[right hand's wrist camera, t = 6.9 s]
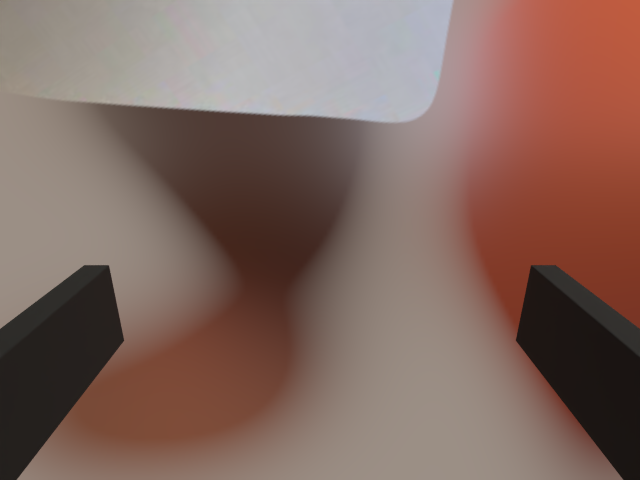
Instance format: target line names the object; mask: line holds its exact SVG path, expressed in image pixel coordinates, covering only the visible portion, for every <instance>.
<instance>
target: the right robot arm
mask: <svg viewBox="0 0 640 480" xmlns="http://www.w3.org/2000/svg"><path fill="white" fill-rule="evenodd" d="M123 341H124V338H123V333H122V328H121V323H120V318H119V313H118V308H117V303H116V298H115V293H114V288H113V283H112V278H111V273H110V269H109V266H108V265H84V266H83V267H81V268H80V269H79V270H78V271H76V272H75V273H74V274H72V275H71V276H70V277H68V278H67V279H66V280H64V281H63V282H62V283H60V284H59V285H58V286H56V287H55V288H54V289H52V290H51V291H50V292H48V293H47V294H46V295H45V296H43V297H42V298H40V299H39V300H38V301H37V302H35V303H34V304H33V305H31V306H30V307H29V308H27V309H26V310H25V311H23V312H22V313H21V314H19V315H18V316H17V317H15V318H14V319H13V320H11V321H10V322H9V323H7V324H6V325H5V326H4V327H2V328H1V329H0V480H17V478H18V477H19V476H20V475H21V473H22V472H23V471H24V469H25V468H26V467H27V466H28V464H29V463H30V462H31V460H32V459H33V458H34V456H35V455H36V454H37V453H38V451H39V450H40V449H41V447H42V446H43V445H44V444H45V442H46V441H47V440H48V438H49V437H50V436H51V434H52V433H53V432H54V431H55V429H56V428H57V427H58V425H59V424H60V423H61V421H62V420H63V419H64V418H65V416H66V415H67V414H68V412H69V411H70V410H71V409H72V407H73V406H74V405H75V403H76V402H77V401H78V399H79V398H80V397H81V396H82V394H83V393H84V392H85V390H86V389H87V388H88V387H89V385H90V384H91V383H92V381H93V380H94V379H95V377H96V376H97V375H98V374H99V372H100V371H101V370H102V368H103V367H104V366H105V365H106V363H107V362H108V361H109V359H110V358H111V357H112V355H113V354H114V353H115V352H116V350H117V349H118V348H119V346H120V345H121V344H122V343H123ZM516 341H517V343H518V344H519V345H520V346H521V348H522V349H523V350H524V351H525V353H526V354H527V356H528V357H529V358H530V359H531V361H532V362H533V363H534V364H535V366H536V367H537V368H538V370H539V371H540V372H541V374H542V375H543V376H544V378H545V379H546V380H547V381H548V383H549V384H550V385H551V387H552V388H553V389H554V390H555V392H556V393H557V394H558V396H559V397H560V398H561V400H562V401H563V402H564V403H565V405H566V406H567V407H568V409H569V410H570V411H571V412H572V414H573V415H574V416H575V418H576V419H577V420H578V422H579V423H580V424H581V425H582V427H583V428H584V429H585V431H586V432H587V433H588V434H589V436H590V437H591V438H592V440H593V441H594V442H595V444H596V445H597V446H598V447H599V449H600V450H601V451H602V453H603V454H604V455H605V456H606V458H607V459H608V460H609V462H610V463H611V464H612V466H613V467H614V468H615V469H616V471H617V472H618V473H619V475H620V476H621V477H622V478H623V480H640V329H639V328H638V327H637V326H635V325H634V324H633V323H631V322H630V321H629V320H627V319H626V318H625V317H623V316H622V315H621V314H619V313H618V312H617V311H615V310H614V309H613V308H611V307H610V306H609V305H607V304H606V303H605V302H603V301H602V300H601V299H600V298H598V297H597V296H596V295H594V294H593V293H592V292H590V291H589V290H588V289H586V288H585V287H584V286H582V285H581V284H580V283H578V282H577V281H576V280H574V279H573V278H572V277H570V276H569V275H568V274H566V273H565V272H564V271H562V270H561V269H560V268H559V267H557V266H556V265H531V269H530V274H529V279H528V283H527V288H526V294H525V298H524V303H523V308H522V313H521V318H520V323H519V328H518V333H517V338H516Z"/></svg>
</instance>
